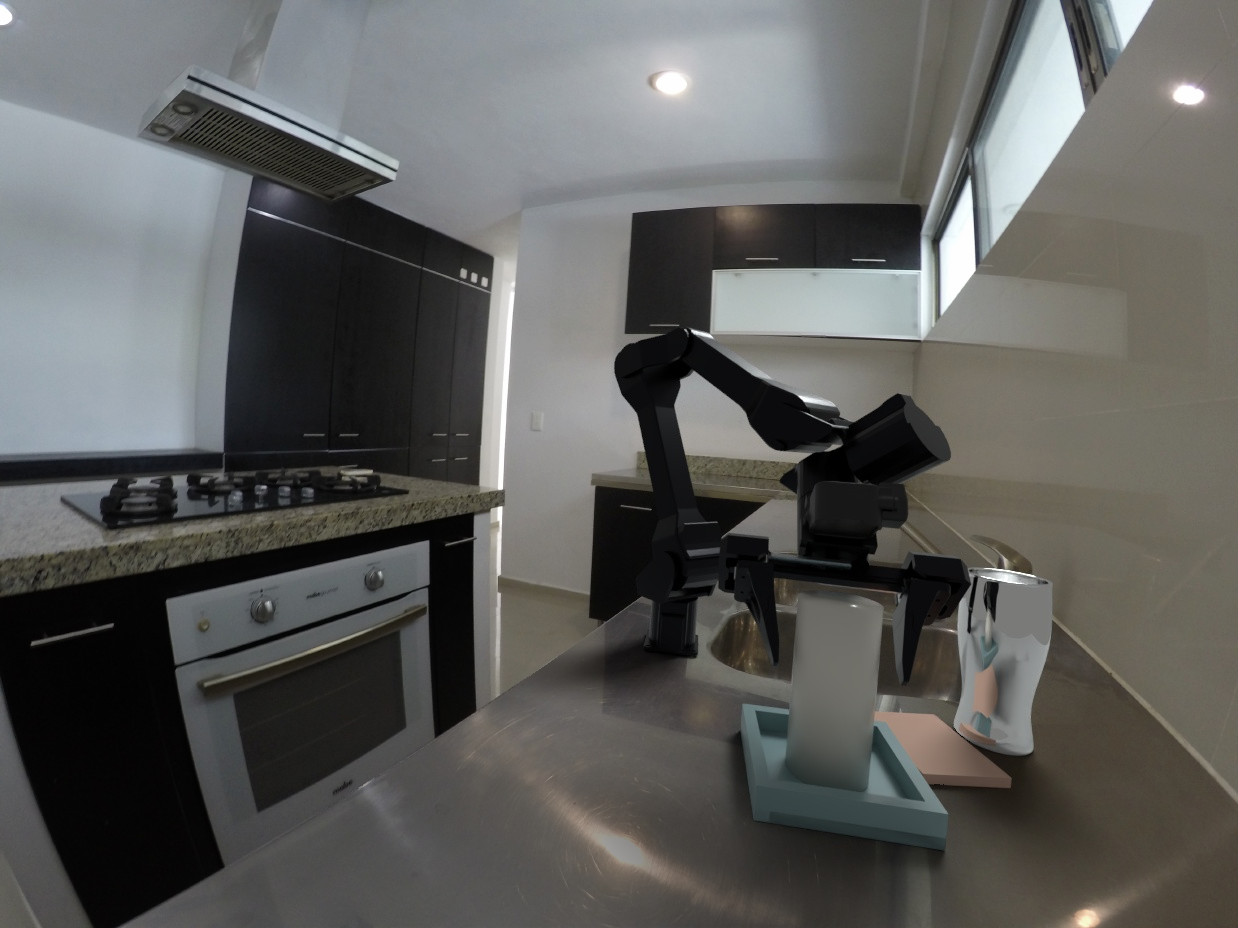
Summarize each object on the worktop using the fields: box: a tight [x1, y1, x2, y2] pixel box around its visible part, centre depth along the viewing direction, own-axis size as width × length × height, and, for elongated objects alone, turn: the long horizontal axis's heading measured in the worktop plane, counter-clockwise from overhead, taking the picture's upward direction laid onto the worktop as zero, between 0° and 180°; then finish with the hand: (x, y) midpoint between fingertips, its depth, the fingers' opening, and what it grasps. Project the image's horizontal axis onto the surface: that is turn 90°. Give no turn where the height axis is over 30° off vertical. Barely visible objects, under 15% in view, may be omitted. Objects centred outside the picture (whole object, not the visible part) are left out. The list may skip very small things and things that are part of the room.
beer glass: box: [953, 566, 1054, 757], centre depth 50 cm, size 7×7×15 cm
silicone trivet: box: [874, 710, 1012, 789], centre depth 48 cm, size 10×7×1 cm
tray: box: [739, 703, 949, 852], centre depth 42 cm, size 12×12×2 cm
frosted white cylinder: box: [785, 589, 885, 792], centre depth 42 cm, size 6×6×13 cm
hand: (838, 673), depth 41 cm, fingers open, 9 cm apart
